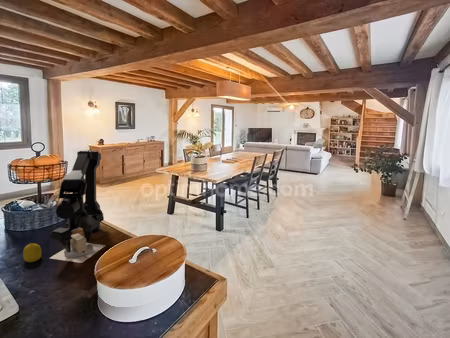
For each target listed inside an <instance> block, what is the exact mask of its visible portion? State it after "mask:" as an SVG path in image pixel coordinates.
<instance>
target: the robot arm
mask: <svg viewBox="0 0 450 338" xmlns="http://www.w3.org/2000/svg"><path fill="white" fill-rule="evenodd" d="M76 155H77V157H76V159H75V161H74V164H73V166H72V169H71V171H70V172H69V173H67V174H66V175H65V176H64V177H63V180H62V181H61V183H60V187H59V188H60V189H59V193H58V199H62V200H61V203H60V204H59V205H58V206H56V209H55V214H56V216H57V217H58V218H60V219H62V220H67V222H65V226H67V228H66V227H65V228H64V227H58V228H56V229H53V230H52V231H50V235H49V236H50V239H52V240H56V241H58V242H59V243H60V244H61V245H62V247H63V248H64V249H66V251H67V252H69V253H70V252H71V241H70V240H71V239H72V238H73V237H71V235H73V232H74V231H77V230H78V229H82V232H83V235H84V236H83V237H85V238H86V243H90V239H91V237H92V234H94V233H96V232H100V231H102V229H101V223H102V221H103V222H104V213H103V211H102V209H101V205H100V203H99V202H98V201H97V170H98V167H99V166H100V164H101V159H102V154H101V152H99V150H89V149H85V150H84V149H81V150H78V151H77V154H76ZM84 198H85V199H84Z"/></svg>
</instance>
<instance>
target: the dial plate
mask: <svg viewBox="0 0 450 338" xmlns="http://www.w3.org/2000/svg"><path fill="white" fill-rule="evenodd" d="M89 243H90V242H89ZM90 244H92V245H93V250H92V251H91V252H90V253H88V254H86V255H83V256H79V257H67V256H65V255H64V250H65V248H64V249H62V250H61V251H59V252H57V253H55V254H54V255H52V256H51V257H49V259H52V260H59V261H65V262H72V263H73V262H74V263H79V264H80V263H81V264H82V263H84V262H85V261H86V260H88V259H89V258H91V257H92V256H94V255H95V254H96V253H98V252H99V251H100V250H102V249H103V248H104V247H106V244H99V243H98V244H97V243H92V242H91V243H90Z"/></svg>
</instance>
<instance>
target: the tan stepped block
mask: <svg viewBox="0 0 450 338" xmlns="http://www.w3.org/2000/svg"><path fill="white" fill-rule="evenodd" d="M71 237H73V238H72V239H71V240H70V244H71V252H70V253H69V252H67V251H66V249H65V248H64V249H65V250H64V249H63V250H64V255H65V256H67V257H79V256H83V255H86V254H88V253H90V252H91V251H92V250H93V245H92V244H93V243H91V244H90V242H86V238H85V236H83V235H82V234H80V233H78V232H77V233H75V234H72V235H71Z"/></svg>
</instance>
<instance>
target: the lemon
mask: <svg viewBox="0 0 450 338" xmlns="http://www.w3.org/2000/svg"><path fill="white" fill-rule="evenodd" d="M42 251H43V250H42V248H41V246H40V245H39V244H38V243H33V242H31V243H29V244H27V245H25V247H24V248H23V251H22V257H23V259H24V261H25V262H27V263H34V262H36V261H39V260H40V258H42V254H43V253H42Z"/></svg>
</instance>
